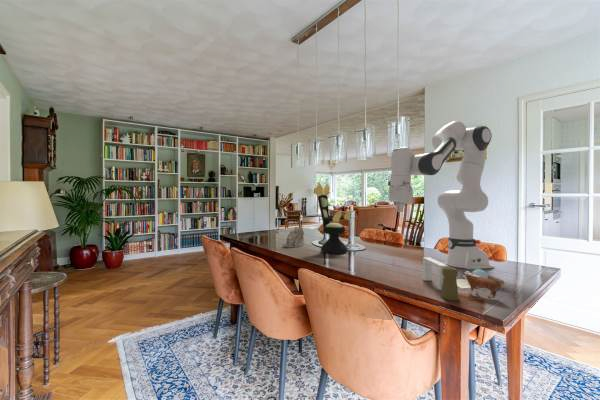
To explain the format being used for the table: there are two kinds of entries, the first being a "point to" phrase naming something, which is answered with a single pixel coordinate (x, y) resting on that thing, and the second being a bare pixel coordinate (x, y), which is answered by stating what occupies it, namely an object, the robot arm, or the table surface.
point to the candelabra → (331, 228)
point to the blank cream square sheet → (463, 284)
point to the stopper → (497, 280)
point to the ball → (480, 273)
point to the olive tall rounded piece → (449, 284)
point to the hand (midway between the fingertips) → (400, 211)
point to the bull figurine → (482, 284)
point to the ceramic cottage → (295, 238)
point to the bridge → (428, 270)
